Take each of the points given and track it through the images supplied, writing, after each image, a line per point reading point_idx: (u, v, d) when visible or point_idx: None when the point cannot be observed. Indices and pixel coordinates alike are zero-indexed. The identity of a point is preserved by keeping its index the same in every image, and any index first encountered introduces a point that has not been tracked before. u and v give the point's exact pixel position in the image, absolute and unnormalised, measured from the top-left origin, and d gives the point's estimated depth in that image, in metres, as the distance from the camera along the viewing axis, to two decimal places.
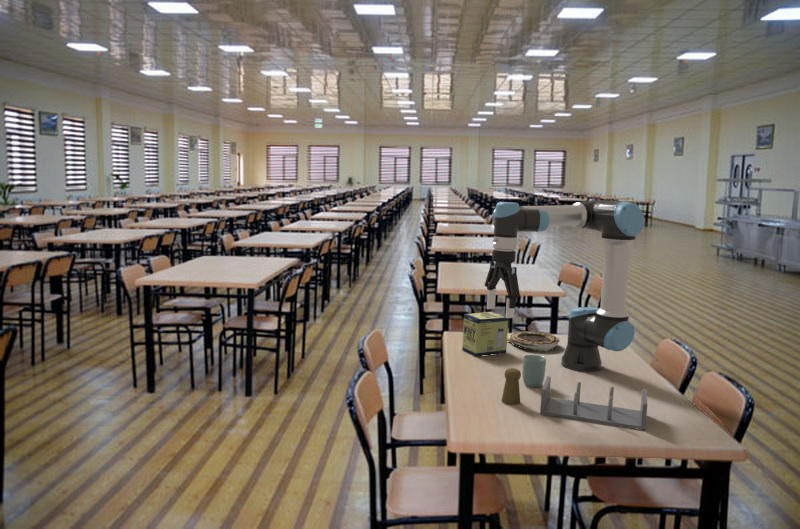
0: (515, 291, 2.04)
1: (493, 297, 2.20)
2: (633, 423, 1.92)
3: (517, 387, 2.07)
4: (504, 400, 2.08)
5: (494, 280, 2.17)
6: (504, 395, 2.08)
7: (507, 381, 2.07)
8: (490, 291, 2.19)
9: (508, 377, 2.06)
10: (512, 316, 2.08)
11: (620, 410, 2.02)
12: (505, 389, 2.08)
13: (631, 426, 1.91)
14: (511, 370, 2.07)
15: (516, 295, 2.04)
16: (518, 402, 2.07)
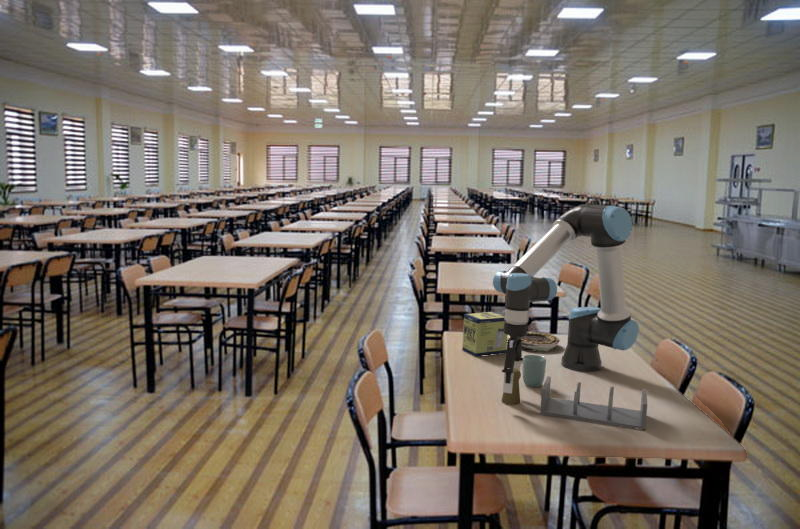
0: (507, 366, 1.98)
1: None
2: (633, 423, 1.92)
3: (517, 387, 2.07)
4: (504, 400, 2.08)
5: None
6: (504, 395, 2.08)
7: None
8: (513, 362, 2.14)
9: None
10: (509, 391, 2.02)
11: (620, 410, 2.02)
12: None
13: (631, 426, 1.91)
14: None
15: (507, 370, 1.98)
16: (518, 402, 2.07)
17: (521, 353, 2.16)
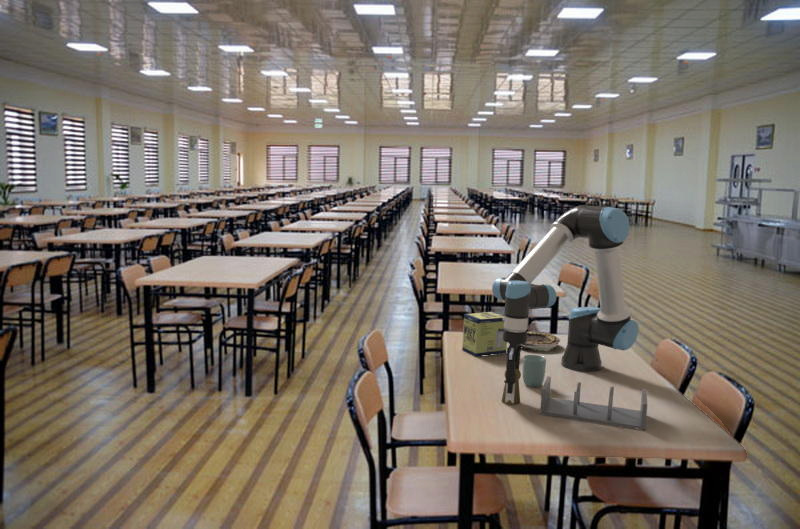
0: (508, 378, 2.03)
1: None
2: (633, 423, 1.92)
3: (517, 387, 2.07)
4: (504, 400, 2.08)
5: None
6: (504, 395, 2.08)
7: None
8: None
9: None
10: (511, 401, 2.06)
11: (620, 410, 2.02)
12: (505, 389, 2.08)
13: (631, 426, 1.91)
14: None
15: (509, 382, 2.03)
16: (518, 402, 2.07)
17: (518, 369, 2.13)
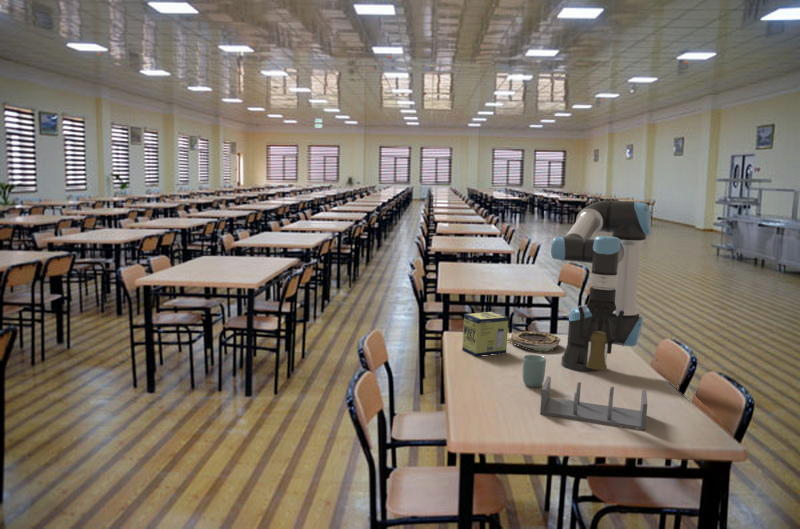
0: (618, 336, 1.95)
1: None
2: (633, 423, 1.92)
3: None
4: (604, 366, 1.96)
5: (593, 325, 1.97)
6: (603, 361, 1.96)
7: (603, 345, 1.96)
8: None
9: (606, 340, 1.96)
10: None
11: (620, 410, 2.02)
12: (603, 354, 1.96)
13: (631, 426, 1.91)
14: (603, 333, 1.97)
15: None
16: None
17: None
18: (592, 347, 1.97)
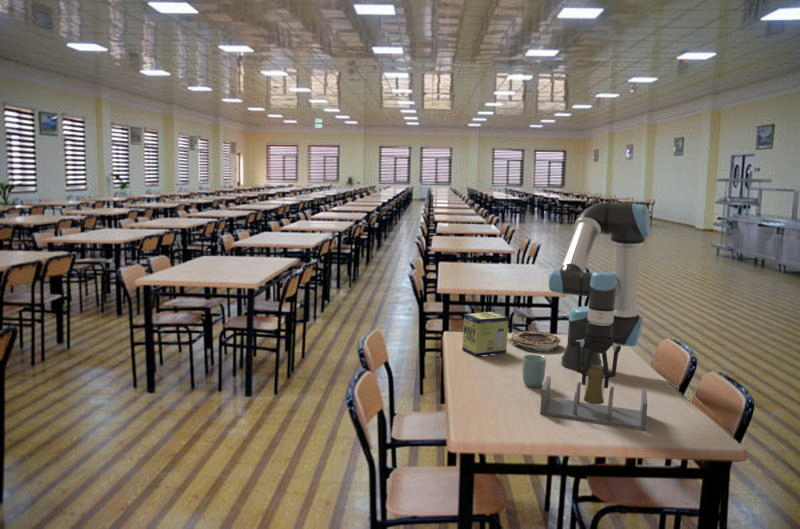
0: (615, 371, 1.97)
1: None
2: (633, 423, 1.92)
3: None
4: (601, 400, 1.98)
5: (590, 359, 1.99)
6: (600, 395, 1.98)
7: (600, 380, 1.98)
8: (588, 377, 1.99)
9: (603, 375, 1.98)
10: (603, 395, 2.00)
11: (620, 410, 2.02)
12: (600, 389, 1.98)
13: (631, 426, 1.91)
14: (600, 367, 1.98)
15: None
16: None
17: None
18: (589, 381, 1.99)
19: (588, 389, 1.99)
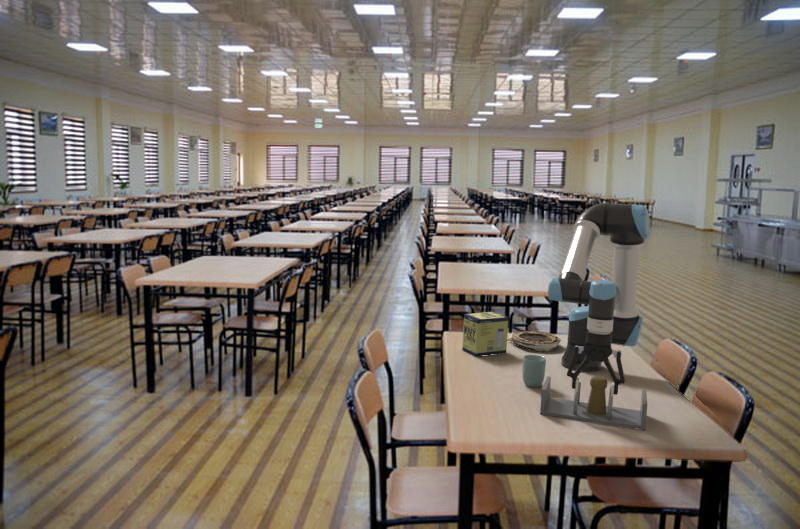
0: (624, 377, 1.96)
1: (578, 386, 2.02)
2: (633, 423, 1.92)
3: None
4: (604, 411, 1.98)
5: (584, 366, 1.99)
6: (603, 406, 1.98)
7: (603, 391, 1.98)
8: (578, 380, 2.01)
9: (606, 386, 1.98)
10: None
11: (620, 410, 2.02)
12: (603, 400, 1.98)
13: (631, 426, 1.91)
14: (603, 378, 1.99)
15: (624, 380, 1.97)
16: None
17: None
18: (592, 393, 1.99)
19: (591, 400, 1.99)
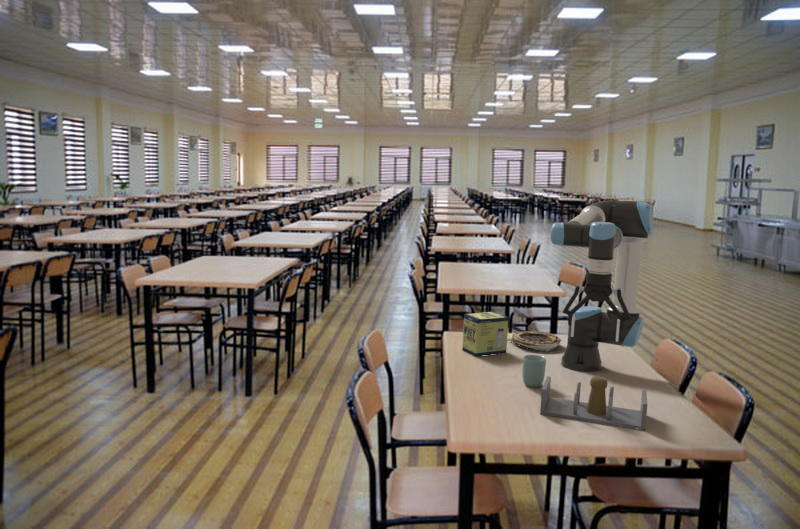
0: (628, 313, 2.00)
1: (574, 323, 2.06)
2: (633, 423, 1.92)
3: None
4: (604, 412, 1.98)
5: (582, 305, 2.03)
6: (603, 406, 1.98)
7: (603, 391, 1.98)
8: (574, 317, 2.05)
9: (606, 386, 1.98)
10: None
11: (620, 410, 2.02)
12: (603, 400, 1.98)
13: (631, 426, 1.91)
14: (603, 378, 1.99)
15: (630, 316, 2.00)
16: None
17: None
18: (592, 393, 1.99)
19: (591, 400, 1.99)
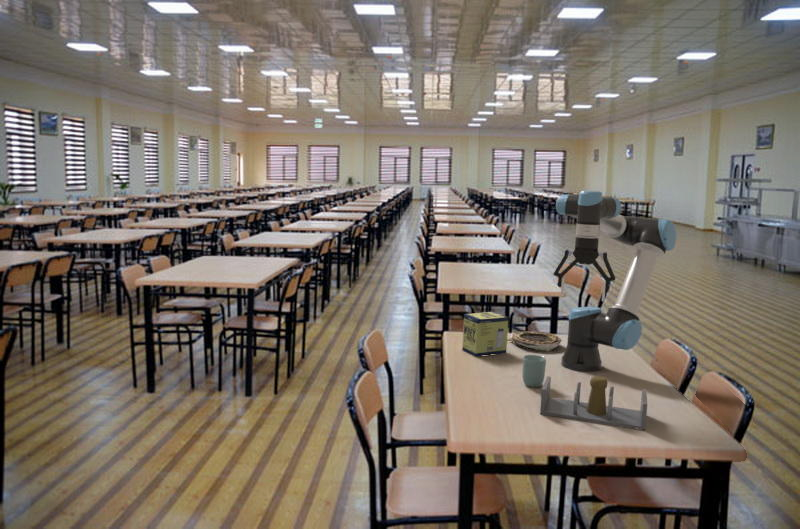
0: (613, 274, 2.17)
1: None
2: (633, 423, 1.92)
3: None
4: (604, 412, 1.98)
5: (571, 267, 2.21)
6: (603, 406, 1.98)
7: (603, 391, 1.98)
8: (564, 279, 2.22)
9: (606, 386, 1.98)
10: (604, 298, 2.20)
11: (620, 410, 2.02)
12: (603, 400, 1.98)
13: (631, 426, 1.91)
14: (603, 378, 1.99)
15: None
16: None
17: None
18: (592, 393, 1.99)
19: (591, 400, 1.99)
